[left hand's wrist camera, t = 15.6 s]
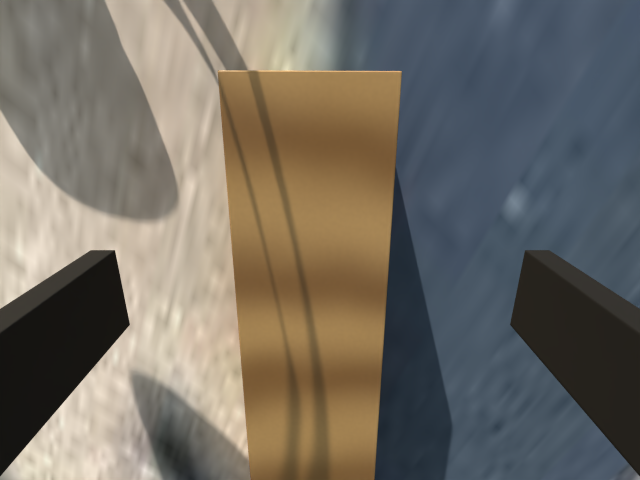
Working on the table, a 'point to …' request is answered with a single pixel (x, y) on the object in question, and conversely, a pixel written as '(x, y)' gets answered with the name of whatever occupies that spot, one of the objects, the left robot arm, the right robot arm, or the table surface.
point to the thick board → (311, 262)
